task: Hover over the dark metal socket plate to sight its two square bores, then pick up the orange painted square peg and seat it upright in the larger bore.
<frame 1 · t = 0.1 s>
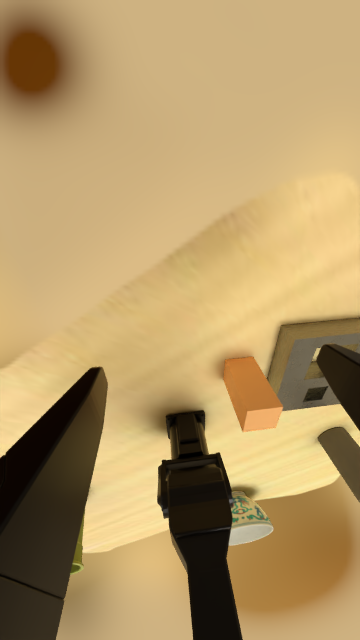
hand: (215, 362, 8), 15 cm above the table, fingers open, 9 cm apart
socket plate: (309, 360, 31), on the table
bottle: (330, 434, 44), on the table
plant pot: (69, 490, 45), on the table
chinaware: (232, 495, 56), on the table
peg: (237, 368, 30), on the table
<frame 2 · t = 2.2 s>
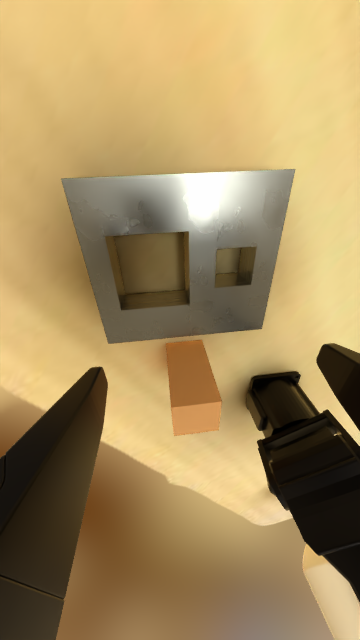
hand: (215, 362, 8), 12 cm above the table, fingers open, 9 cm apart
socket plate: (181, 260, 18), on the table
champagne flute: (282, 480, 48), on the table
peg: (184, 355, 24), on the table
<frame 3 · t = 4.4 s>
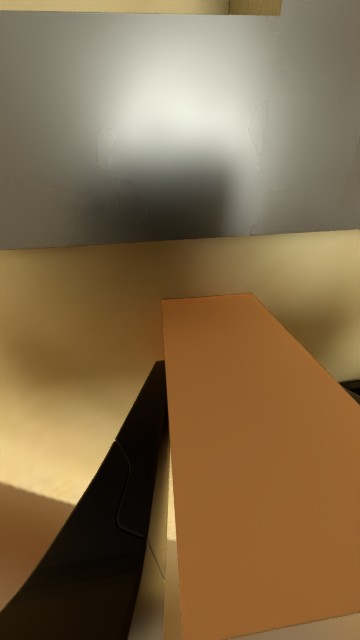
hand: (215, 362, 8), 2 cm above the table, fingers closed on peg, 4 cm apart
peg: (205, 333, 10), on the table, touching gripper
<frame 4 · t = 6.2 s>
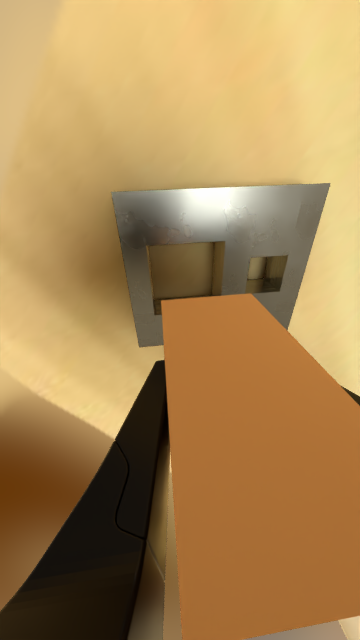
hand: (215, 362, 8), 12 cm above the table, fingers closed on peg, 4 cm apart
socket plate: (210, 267, 19), on the table
champagne flute: (292, 482, 48), on the table
peg: (205, 333, 10), point 10 cm above the table, touching gripper
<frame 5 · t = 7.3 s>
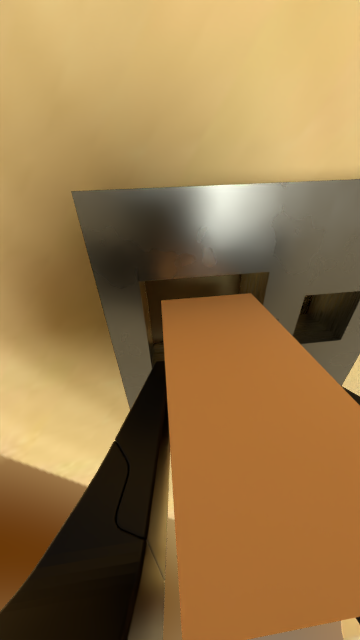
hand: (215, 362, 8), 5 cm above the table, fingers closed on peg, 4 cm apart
socket plate: (233, 299, 13), on the table
champagne flute: (310, 519, 43), on the table
peg: (205, 333, 10), point 3 cm above the table, touching gripper
when the fingers open (3 cm above the table, at t = 8.0 s): peg drops 2 cm, resting in socket plate.
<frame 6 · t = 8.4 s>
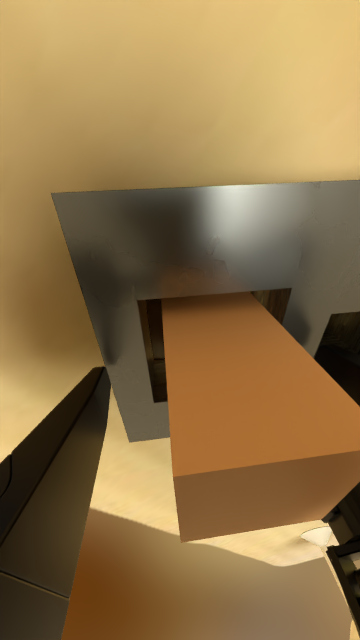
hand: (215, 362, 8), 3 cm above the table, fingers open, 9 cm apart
socket plate: (243, 313, 11), on the table
champagne flute: (315, 531, 41), on the table
peg: (199, 318, 11), resting in socket plate
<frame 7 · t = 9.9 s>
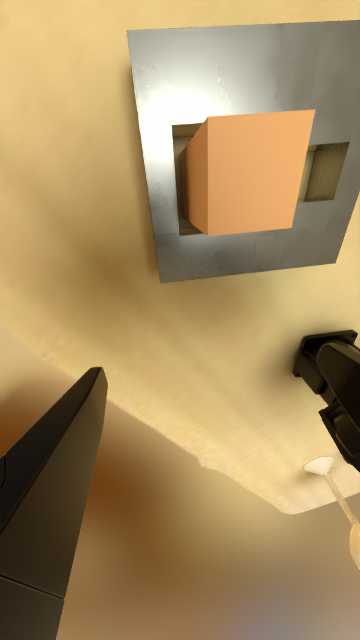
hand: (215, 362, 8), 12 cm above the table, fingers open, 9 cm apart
socket plate: (242, 181, 15), on the table
champagne flute: (318, 463, 45), on the table
peg: (209, 185, 15), resting in socket plate
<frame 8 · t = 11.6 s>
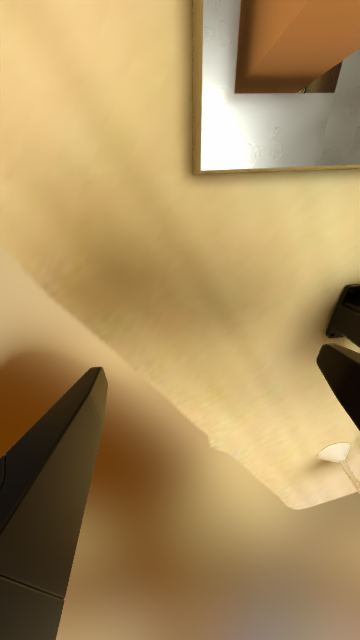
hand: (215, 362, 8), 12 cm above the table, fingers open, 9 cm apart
socket plate: (309, 46, 12), on the table
champagne flute: (333, 450, 42), on the table
peg: (268, 47, 12), resting in socket plate
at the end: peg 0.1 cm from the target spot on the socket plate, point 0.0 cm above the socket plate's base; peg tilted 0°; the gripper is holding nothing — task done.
